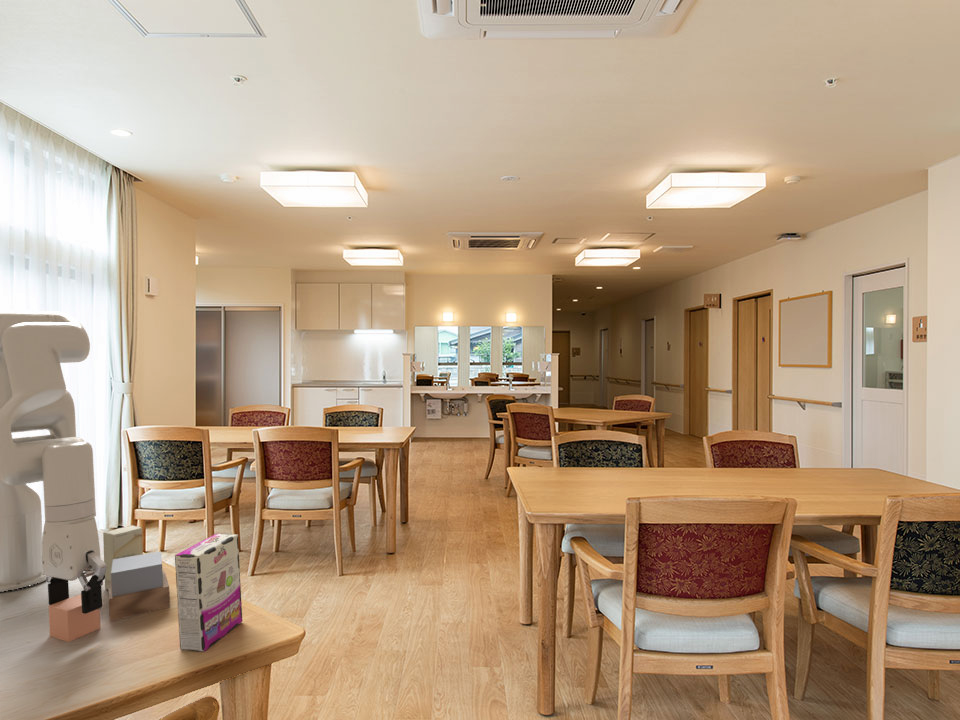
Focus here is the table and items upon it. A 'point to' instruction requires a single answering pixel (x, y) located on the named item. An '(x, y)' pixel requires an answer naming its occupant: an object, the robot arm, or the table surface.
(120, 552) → the skincare box
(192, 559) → the candy bar box
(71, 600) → the terracotta cube
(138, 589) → the slate grey top block
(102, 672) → the table surface
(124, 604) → the walnut base block
